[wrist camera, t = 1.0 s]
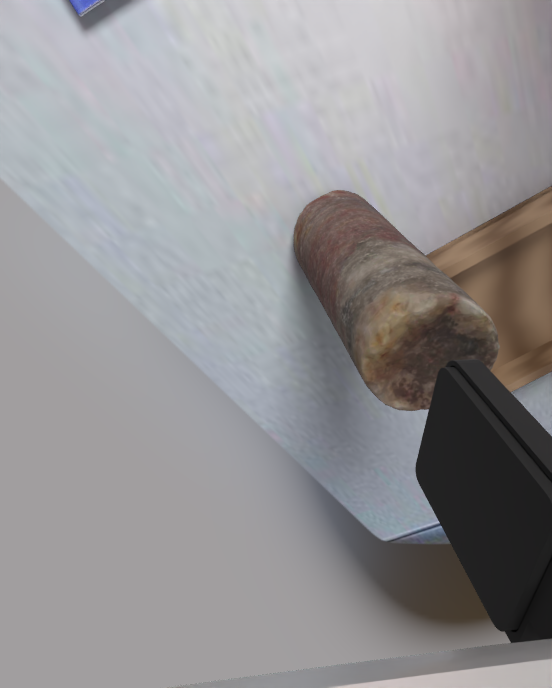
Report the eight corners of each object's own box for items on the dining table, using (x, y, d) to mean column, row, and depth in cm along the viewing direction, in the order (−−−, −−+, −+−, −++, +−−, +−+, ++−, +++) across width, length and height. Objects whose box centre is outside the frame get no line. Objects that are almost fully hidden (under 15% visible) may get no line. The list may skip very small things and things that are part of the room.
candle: (374, 272, 45) (490, 409, 28) (293, 282, 44) (360, 429, 27) (377, 184, 41) (513, 279, 24) (287, 194, 40) (362, 299, 23)
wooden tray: (565, 178, 43) (594, 187, 40) (595, 319, 51) (621, 336, 48) (406, 266, 45) (422, 281, 42) (459, 389, 53) (476, 409, 50)
